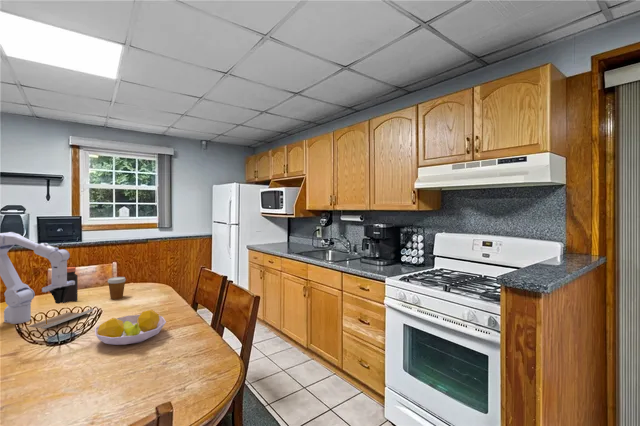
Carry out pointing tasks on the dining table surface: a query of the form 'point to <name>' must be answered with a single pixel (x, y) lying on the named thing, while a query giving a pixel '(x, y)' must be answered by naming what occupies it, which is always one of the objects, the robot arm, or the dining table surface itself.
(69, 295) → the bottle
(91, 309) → the grey plank
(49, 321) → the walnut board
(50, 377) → the dining table surface
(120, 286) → the disposable coffee cup
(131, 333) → the fruit bowl
